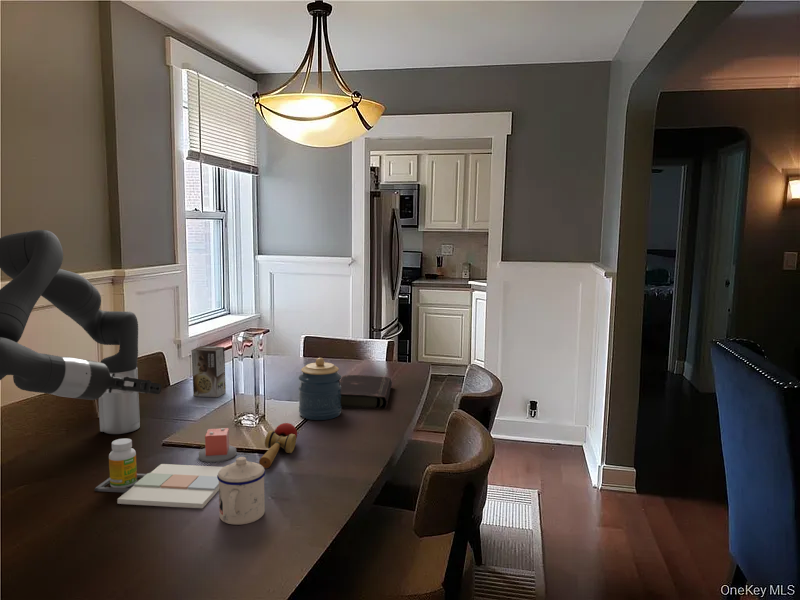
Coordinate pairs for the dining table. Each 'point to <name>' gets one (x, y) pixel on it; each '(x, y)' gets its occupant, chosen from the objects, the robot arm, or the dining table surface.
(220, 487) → the teacup with lid
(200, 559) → the dining table surface
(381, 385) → the diary
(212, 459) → the red die
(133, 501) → the game board
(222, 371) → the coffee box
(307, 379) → the canister
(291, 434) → the kendama
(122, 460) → the supplement bottle
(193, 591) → the dining table surface
